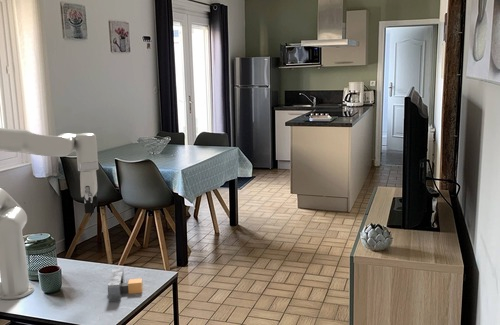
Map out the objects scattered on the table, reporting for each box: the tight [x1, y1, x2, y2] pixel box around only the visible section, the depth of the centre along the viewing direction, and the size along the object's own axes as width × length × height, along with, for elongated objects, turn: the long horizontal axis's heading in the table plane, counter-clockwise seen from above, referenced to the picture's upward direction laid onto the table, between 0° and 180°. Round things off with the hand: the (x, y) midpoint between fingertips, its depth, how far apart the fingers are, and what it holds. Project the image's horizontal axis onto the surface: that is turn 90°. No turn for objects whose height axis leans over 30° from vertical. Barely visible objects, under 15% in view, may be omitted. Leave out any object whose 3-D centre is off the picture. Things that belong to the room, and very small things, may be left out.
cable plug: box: [107, 277, 144, 296], centre depth 190 cm, size 12×4×4 cm, turn 99°
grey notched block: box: [107, 267, 126, 303], centre depth 189 cm, size 4×16×6 cm, turn 9°
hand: (91, 209), depth 193 cm, fingers open, 9 cm apart
